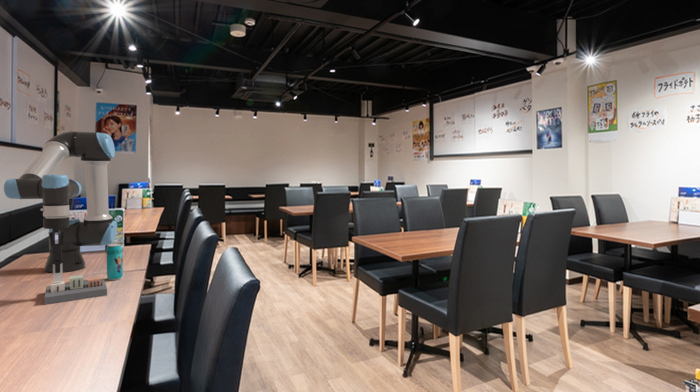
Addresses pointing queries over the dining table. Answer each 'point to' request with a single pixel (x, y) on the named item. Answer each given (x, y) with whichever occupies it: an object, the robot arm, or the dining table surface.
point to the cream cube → (58, 286)
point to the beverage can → (114, 262)
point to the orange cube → (94, 282)
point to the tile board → (75, 293)
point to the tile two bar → (76, 282)
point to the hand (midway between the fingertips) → (58, 280)
